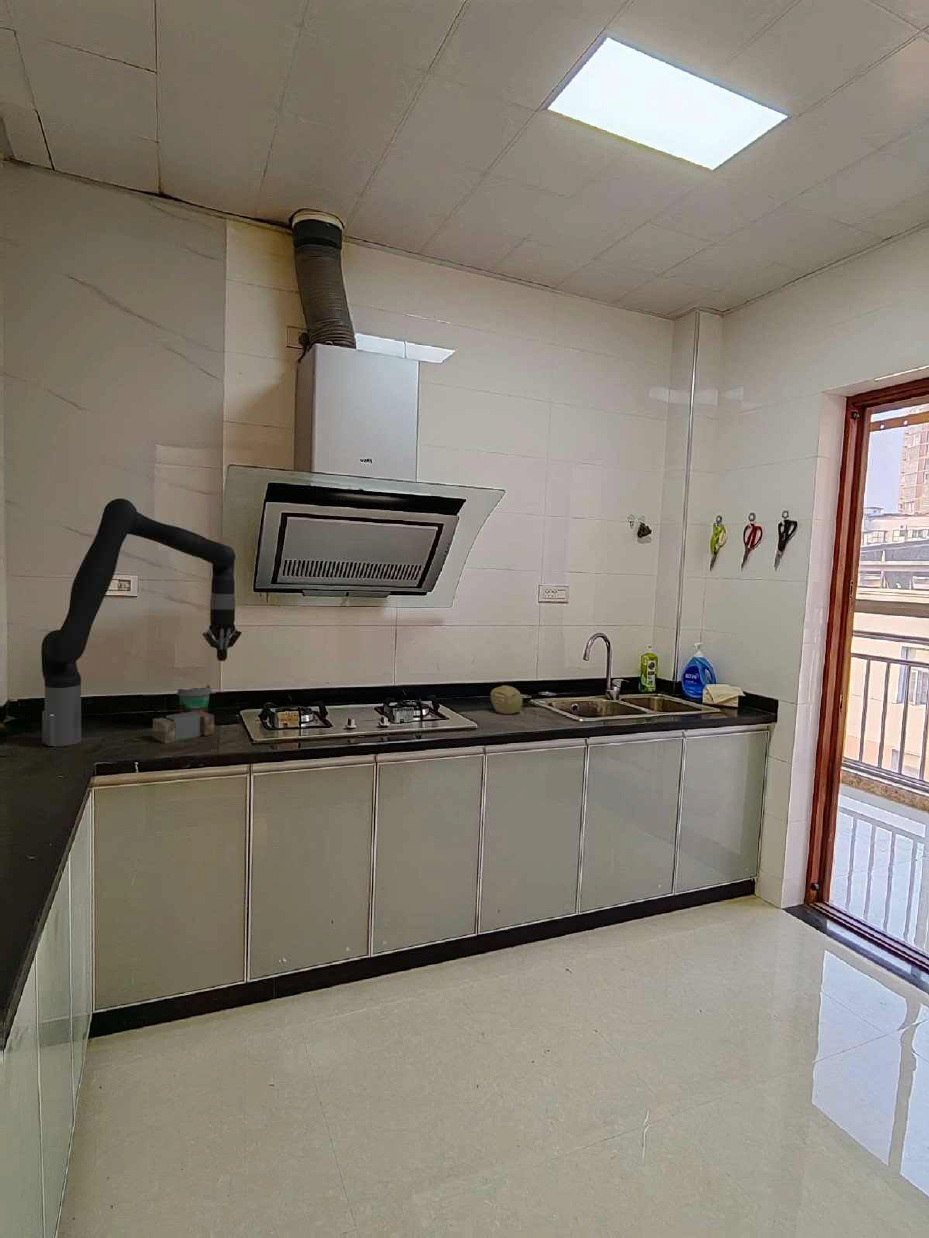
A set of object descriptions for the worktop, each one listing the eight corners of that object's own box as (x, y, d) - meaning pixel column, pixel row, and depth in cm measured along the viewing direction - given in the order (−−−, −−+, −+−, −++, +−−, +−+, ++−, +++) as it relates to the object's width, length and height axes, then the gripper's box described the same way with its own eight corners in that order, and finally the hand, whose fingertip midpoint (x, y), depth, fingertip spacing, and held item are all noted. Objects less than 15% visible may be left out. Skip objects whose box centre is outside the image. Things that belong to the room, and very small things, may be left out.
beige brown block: (165, 743, 209) (165, 724, 209) (152, 738, 215) (152, 719, 214) (176, 741, 212) (176, 722, 211) (163, 736, 217) (163, 717, 217)
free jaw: (203, 735, 219) (204, 717, 218) (191, 730, 224) (191, 712, 223) (213, 734, 221) (214, 715, 221) (200, 729, 227) (201, 711, 226)
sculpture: (485, 711, 274) (486, 684, 273) (506, 708, 282) (508, 681, 281) (506, 717, 266) (507, 689, 265) (527, 713, 274) (529, 686, 273)
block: (173, 741, 213) (174, 718, 212) (165, 737, 216) (166, 715, 216) (201, 736, 220) (201, 714, 219) (193, 733, 223) (193, 711, 222)
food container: (186, 720, 238) (186, 691, 237) (176, 717, 242) (176, 688, 241) (218, 714, 248) (218, 687, 247) (208, 711, 252) (208, 684, 251)
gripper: (234, 606, 231) (233, 657, 233) (197, 606, 221) (196, 660, 223) (247, 607, 227) (246, 660, 228) (209, 609, 217) (208, 664, 218)
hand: (221, 660), depth 225 cm, fingers closed
